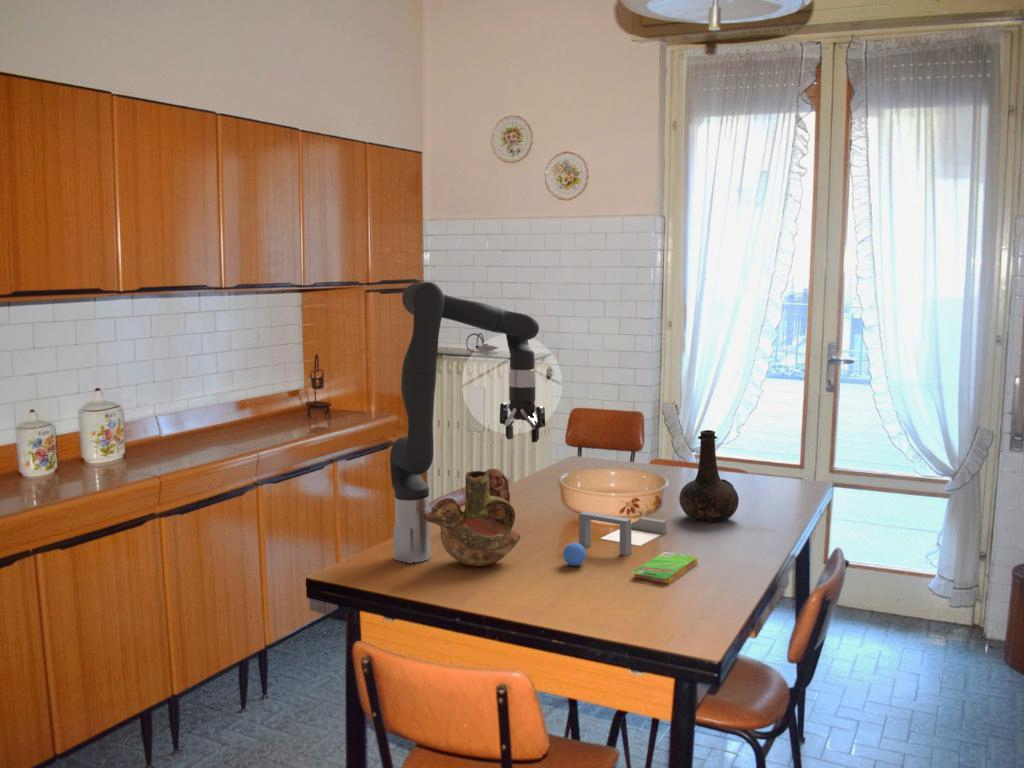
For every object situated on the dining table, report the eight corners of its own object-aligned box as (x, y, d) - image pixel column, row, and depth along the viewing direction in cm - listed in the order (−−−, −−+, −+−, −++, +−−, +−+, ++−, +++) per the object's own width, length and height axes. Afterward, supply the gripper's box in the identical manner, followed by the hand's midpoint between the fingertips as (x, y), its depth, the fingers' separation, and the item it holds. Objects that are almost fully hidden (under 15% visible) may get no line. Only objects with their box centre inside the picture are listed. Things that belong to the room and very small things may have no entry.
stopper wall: (663, 534, 273) (663, 522, 273) (624, 527, 281) (624, 516, 281) (666, 532, 275) (666, 520, 275) (627, 525, 283) (627, 514, 282)
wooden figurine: (490, 533, 277) (489, 474, 275) (474, 529, 281) (473, 471, 278) (514, 524, 286) (513, 466, 284) (498, 520, 290) (497, 464, 288)
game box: (698, 568, 246) (666, 586, 229) (664, 562, 251) (630, 580, 234) (698, 556, 246) (666, 574, 229) (664, 551, 251) (630, 568, 234)
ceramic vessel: (420, 559, 253) (418, 469, 250) (512, 550, 259) (510, 462, 256) (431, 579, 236) (429, 483, 233) (529, 569, 243) (528, 475, 240)
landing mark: (640, 546, 262) (640, 545, 262) (600, 538, 269) (600, 538, 269) (660, 535, 272) (661, 534, 272) (622, 528, 280) (622, 527, 280)
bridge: (626, 555, 253) (626, 521, 252) (579, 546, 262) (579, 513, 261) (631, 553, 256) (631, 518, 254) (584, 544, 264) (584, 511, 263)
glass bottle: (749, 523, 284) (751, 433, 280) (699, 530, 277) (700, 438, 274) (716, 509, 300) (717, 424, 297) (668, 515, 293) (669, 428, 290)
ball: (578, 570, 242) (578, 548, 241) (559, 566, 245) (558, 544, 244) (590, 564, 246) (590, 542, 246) (571, 560, 250) (570, 538, 249)
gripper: (494, 384, 266) (494, 440, 268) (536, 387, 258) (536, 445, 260) (509, 381, 272) (509, 436, 274) (550, 385, 264) (550, 441, 266)
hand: (522, 440), depth 267 cm, fingers open, 8 cm apart
